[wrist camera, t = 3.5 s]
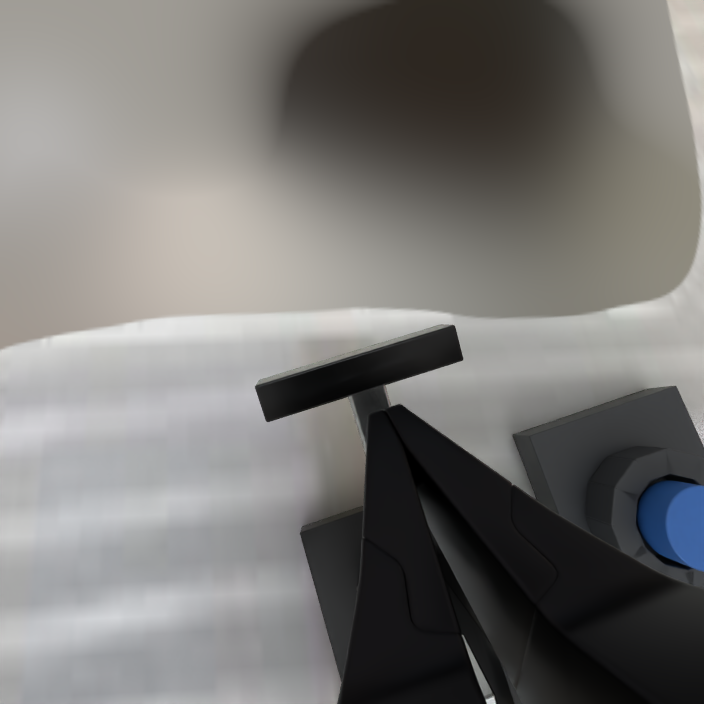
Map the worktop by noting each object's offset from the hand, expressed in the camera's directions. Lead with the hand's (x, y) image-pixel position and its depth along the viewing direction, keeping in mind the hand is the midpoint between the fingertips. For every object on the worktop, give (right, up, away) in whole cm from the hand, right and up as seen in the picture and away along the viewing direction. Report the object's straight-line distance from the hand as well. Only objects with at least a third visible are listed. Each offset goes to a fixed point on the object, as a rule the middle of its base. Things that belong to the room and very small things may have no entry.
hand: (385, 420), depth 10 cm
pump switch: (+14, -7, +13) cm, 21 cm away
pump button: (+15, -6, +9) cm, 18 cm away
